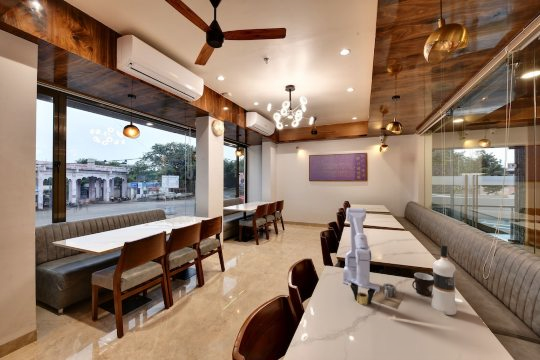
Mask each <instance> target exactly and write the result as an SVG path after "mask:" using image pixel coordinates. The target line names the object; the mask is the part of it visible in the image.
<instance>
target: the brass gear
mask: <svg viewBox="0 0 540 360" xmlns="http://www.w3.org/2000/svg"><path fill="white" fill-rule="evenodd" d="M356 302H357V303H358V304H360V305H362V306H367V305H369V304H368V293H366V292H361V291H360V292H359V291H358V293H357V300H356Z"/></svg>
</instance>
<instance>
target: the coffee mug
mask: <svg viewBox="0 0 540 360" xmlns="http://www.w3.org/2000/svg"><path fill="white" fill-rule="evenodd" d="M413 275H414V280H413V282H412V283H411V285H412V288H413V289H414V290H415V292H416V294H417V295H420V296H422V297H427V298H428V297H433V276H432V275H430V274H428V273H424V272H415V273H414V274H413ZM414 285H415V286H414Z"/></svg>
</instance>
